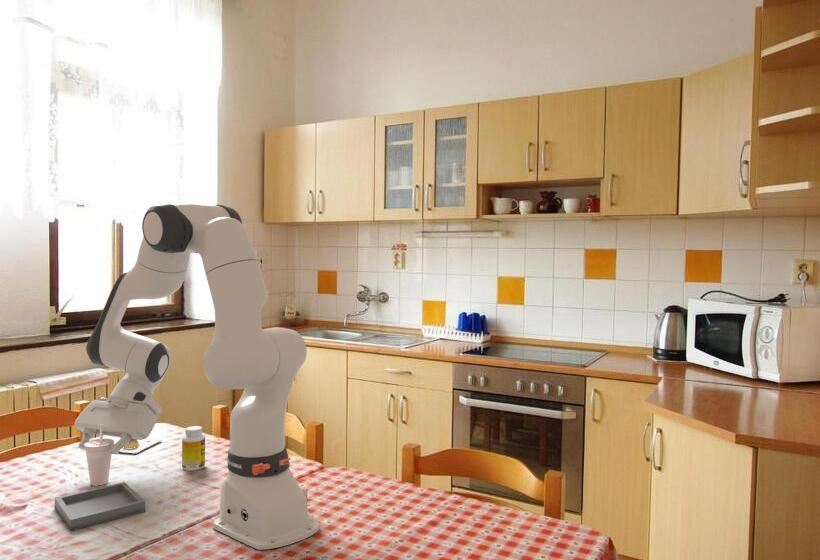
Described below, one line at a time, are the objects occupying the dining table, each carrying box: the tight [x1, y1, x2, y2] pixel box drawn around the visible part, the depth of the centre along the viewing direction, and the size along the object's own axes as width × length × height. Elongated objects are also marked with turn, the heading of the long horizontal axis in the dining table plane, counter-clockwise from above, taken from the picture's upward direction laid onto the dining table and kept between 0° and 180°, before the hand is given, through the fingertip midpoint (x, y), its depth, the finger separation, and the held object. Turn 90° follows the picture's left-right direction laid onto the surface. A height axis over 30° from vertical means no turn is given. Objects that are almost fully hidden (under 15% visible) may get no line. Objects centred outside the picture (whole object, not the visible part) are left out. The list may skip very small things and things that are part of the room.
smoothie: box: [83, 424, 115, 487], centre depth 140 cm, size 6×6×14 cm
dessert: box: [114, 437, 163, 455], centre depth 167 cm, size 12×12×5 cm
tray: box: [54, 481, 146, 532], centre depth 126 cm, size 14×14×2 cm
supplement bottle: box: [181, 425, 206, 472], centre depth 151 cm, size 6×6×10 cm
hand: (97, 450), depth 140 cm, fingers open, 8 cm apart
